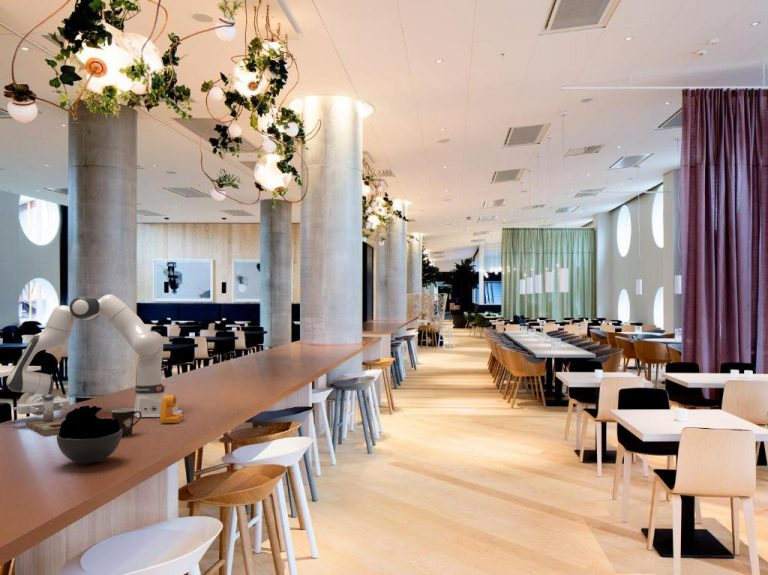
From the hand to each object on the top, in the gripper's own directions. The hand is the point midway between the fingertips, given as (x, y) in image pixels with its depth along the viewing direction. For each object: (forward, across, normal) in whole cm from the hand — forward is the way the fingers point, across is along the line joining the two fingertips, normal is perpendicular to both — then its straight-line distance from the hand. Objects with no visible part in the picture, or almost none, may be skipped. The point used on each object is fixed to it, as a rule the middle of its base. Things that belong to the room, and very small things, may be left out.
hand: (49, 408), depth 267 cm
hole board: (+6, 0, +8) cm, 10 cm away
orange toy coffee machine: (+28, +42, +8) cm, 51 cm away
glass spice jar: (-1, 0, +6) cm, 6 cm away
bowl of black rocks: (+72, -10, +8) cm, 73 cm away
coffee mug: (+39, +17, +8) cm, 43 cm away
